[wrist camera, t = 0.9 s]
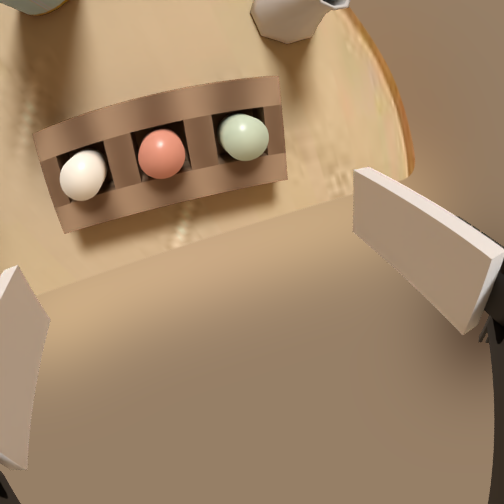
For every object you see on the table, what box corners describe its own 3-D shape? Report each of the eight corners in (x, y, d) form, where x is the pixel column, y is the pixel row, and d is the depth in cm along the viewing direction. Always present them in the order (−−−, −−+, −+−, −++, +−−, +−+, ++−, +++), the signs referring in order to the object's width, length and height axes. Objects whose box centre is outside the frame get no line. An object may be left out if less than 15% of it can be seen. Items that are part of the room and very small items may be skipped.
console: (73, 216, 29) (64, 233, 26) (46, 127, 24) (32, 133, 20) (273, 168, 33) (287, 179, 30) (264, 76, 28) (278, 76, 24)
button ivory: (76, 192, 26) (67, 206, 23) (65, 155, 24) (54, 164, 21) (112, 181, 27) (107, 193, 24) (102, 142, 25) (95, 150, 22)
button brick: (145, 172, 27) (144, 183, 24) (136, 133, 25) (133, 139, 22) (185, 162, 28) (189, 172, 25) (178, 123, 26) (180, 128, 23)
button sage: (219, 155, 28) (227, 164, 25) (213, 116, 26) (220, 120, 23) (258, 148, 29) (270, 156, 26) (254, 110, 27) (266, 113, 24)
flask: (318, 45, 27) (376, 39, 19) (251, 44, 26) (291, 29, 17) (314, -14, 23) (369, -37, 15) (247, -19, 22) (284, -54, 14)
